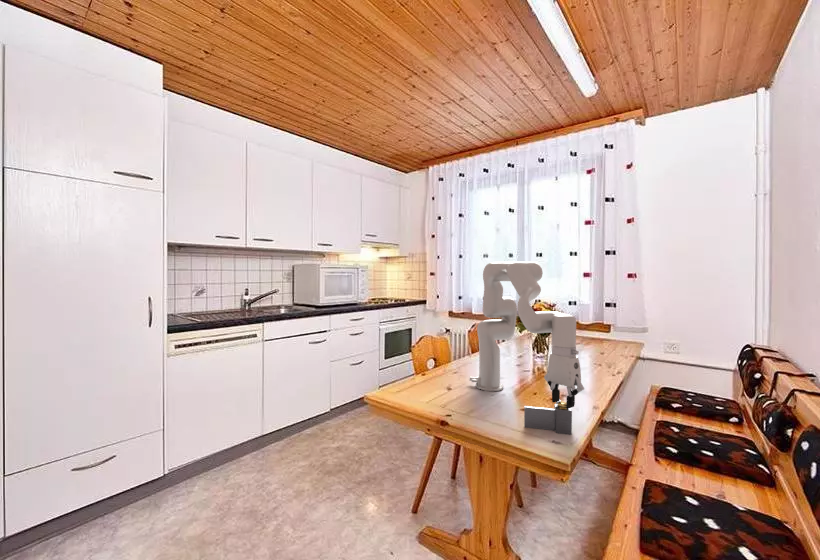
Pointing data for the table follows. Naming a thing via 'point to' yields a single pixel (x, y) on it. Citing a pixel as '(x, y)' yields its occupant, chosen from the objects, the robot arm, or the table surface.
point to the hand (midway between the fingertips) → (562, 403)
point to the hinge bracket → (549, 418)
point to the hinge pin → (562, 405)
